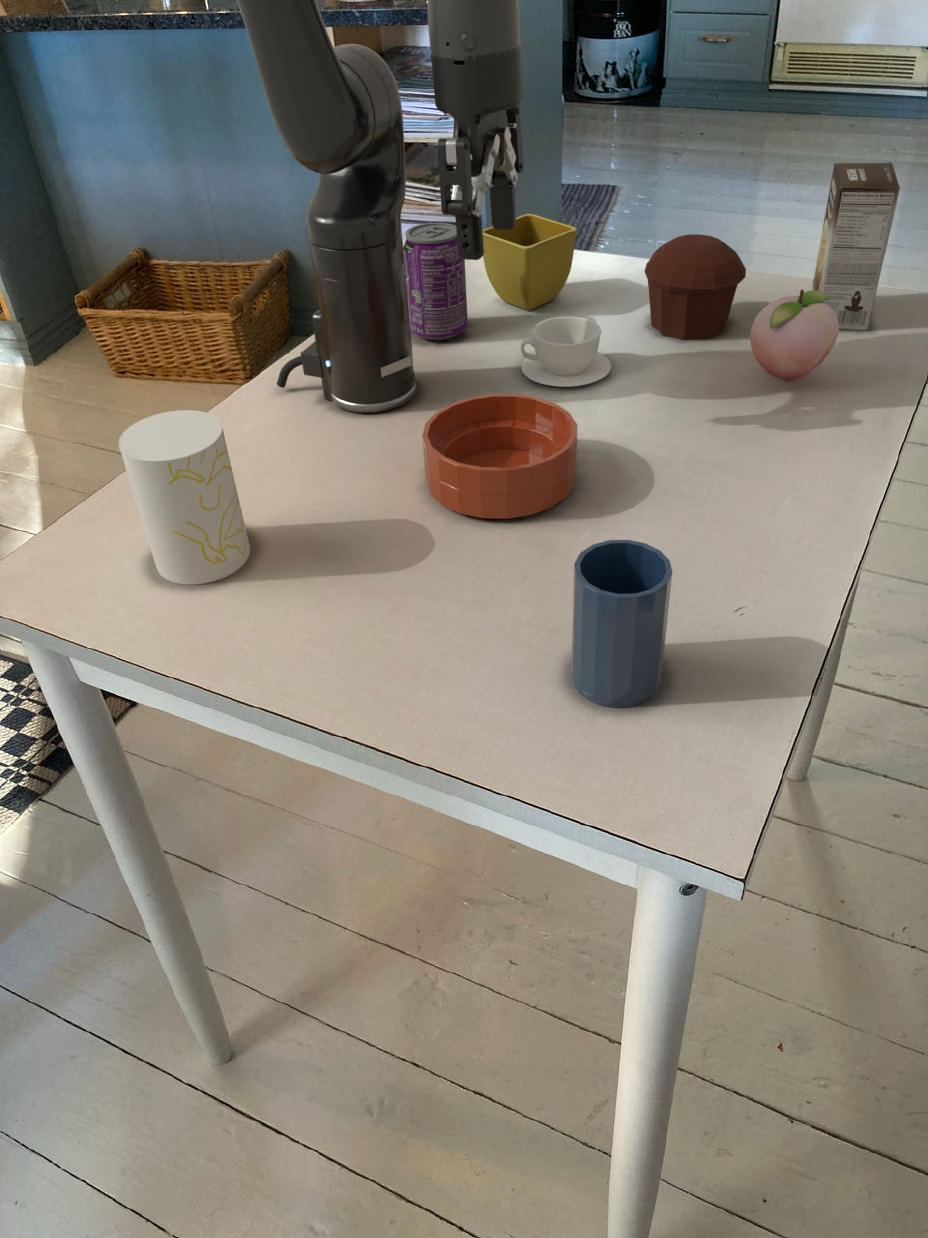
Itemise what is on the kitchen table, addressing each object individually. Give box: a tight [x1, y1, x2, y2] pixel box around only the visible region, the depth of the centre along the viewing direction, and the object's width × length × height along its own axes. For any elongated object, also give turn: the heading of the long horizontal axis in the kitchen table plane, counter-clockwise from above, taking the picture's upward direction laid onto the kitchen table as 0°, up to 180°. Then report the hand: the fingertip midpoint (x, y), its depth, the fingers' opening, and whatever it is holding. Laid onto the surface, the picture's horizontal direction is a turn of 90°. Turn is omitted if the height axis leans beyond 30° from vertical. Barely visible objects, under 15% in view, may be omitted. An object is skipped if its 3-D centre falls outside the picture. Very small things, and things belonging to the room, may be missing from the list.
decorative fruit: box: [749, 289, 840, 382], centre depth 104 cm, size 9×8×10 cm
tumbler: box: [570, 539, 673, 708], centre depth 70 cm, size 6×6×10 cm
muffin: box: [644, 233, 747, 341], centre depth 116 cm, size 12×11×10 cm
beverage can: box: [403, 222, 469, 341], centre depth 117 cm, size 7×7×12 cm
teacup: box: [520, 316, 612, 388], centre depth 110 cm, size 10×10×5 cm
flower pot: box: [482, 213, 578, 311], centre depth 124 cm, size 9×9×9 cm
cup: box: [118, 409, 251, 586], centre depth 83 cm, size 8×8×12 cm
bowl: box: [421, 393, 578, 520], centre depth 92 cm, size 14×14×6 cm
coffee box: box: [811, 162, 901, 331], centre depth 114 cm, size 9×6×16 cm
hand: (488, 242), depth 92 cm, fingers open, 8 cm apart
